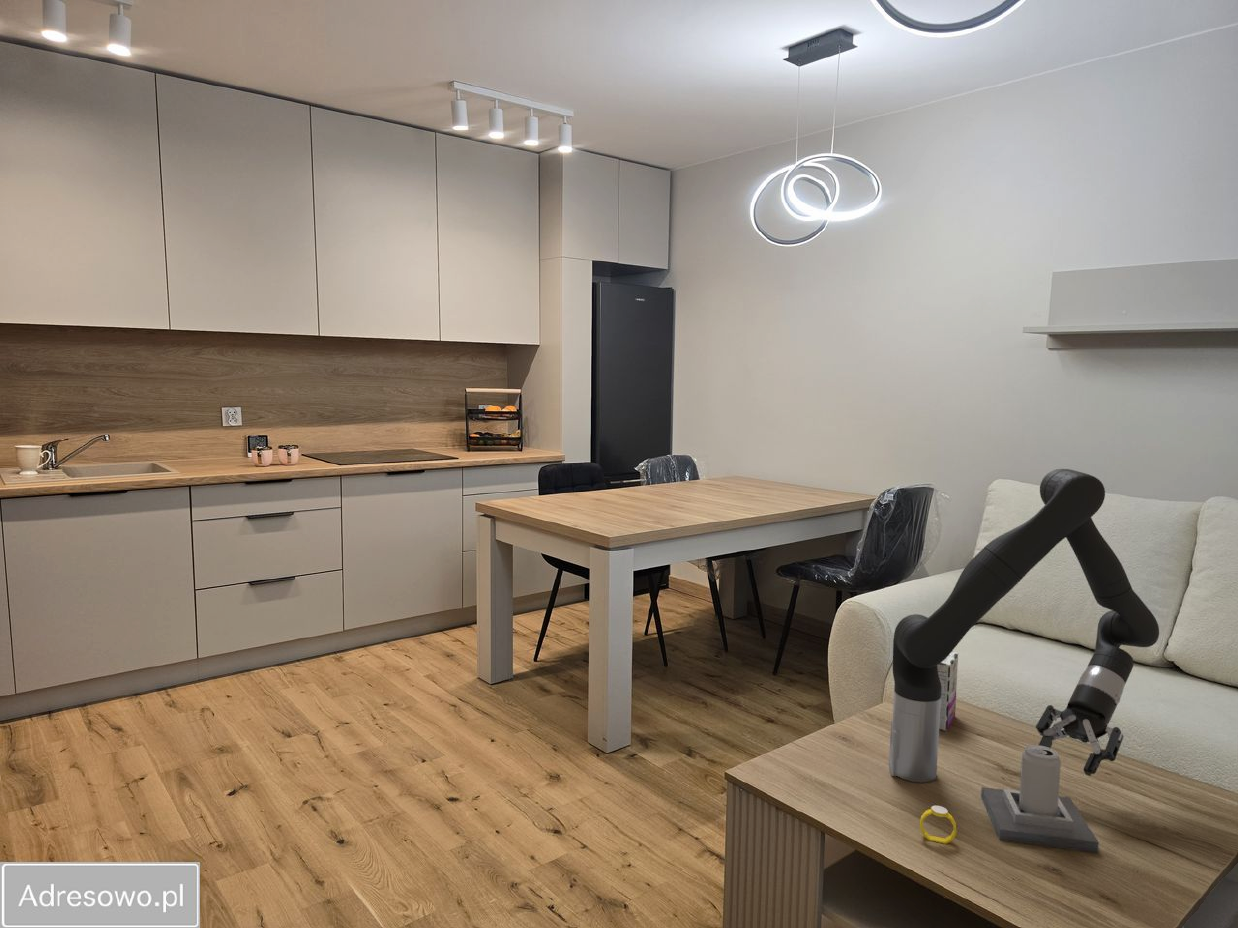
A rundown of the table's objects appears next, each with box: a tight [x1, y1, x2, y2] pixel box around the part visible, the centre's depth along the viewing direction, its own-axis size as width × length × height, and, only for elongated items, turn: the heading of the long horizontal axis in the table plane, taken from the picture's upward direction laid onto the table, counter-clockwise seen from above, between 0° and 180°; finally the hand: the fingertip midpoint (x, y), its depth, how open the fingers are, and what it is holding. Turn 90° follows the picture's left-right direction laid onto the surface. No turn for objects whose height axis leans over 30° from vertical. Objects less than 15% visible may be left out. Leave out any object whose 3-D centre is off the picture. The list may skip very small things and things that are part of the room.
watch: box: [919, 805, 957, 845], centre depth 145 cm, size 6×3×6 cm, turn 69°
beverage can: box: [1019, 744, 1062, 817], centre depth 151 cm, size 6×6×12 cm
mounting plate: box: [980, 786, 1100, 854], centre depth 151 cm, size 16×16×4 cm
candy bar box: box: [937, 650, 959, 732], centre depth 196 cm, size 11×5×16 cm, turn 148°
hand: (1063, 764), depth 155 cm, fingers open, 8 cm apart
